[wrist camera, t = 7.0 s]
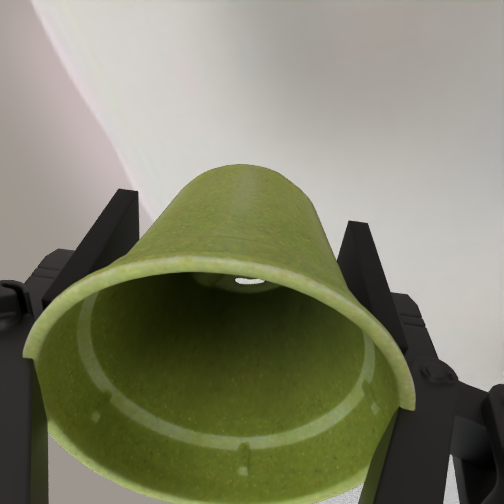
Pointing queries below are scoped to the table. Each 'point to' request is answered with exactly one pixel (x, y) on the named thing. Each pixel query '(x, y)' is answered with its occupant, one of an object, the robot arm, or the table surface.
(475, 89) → the table surface
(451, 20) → the table surface
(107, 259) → the robot arm
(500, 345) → the table surface
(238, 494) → the plant pot
